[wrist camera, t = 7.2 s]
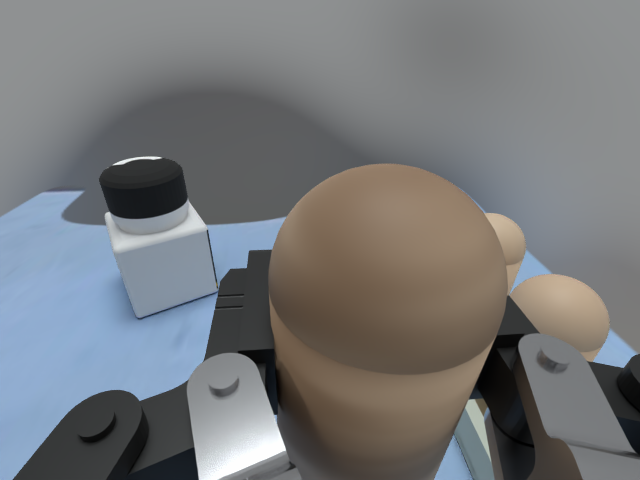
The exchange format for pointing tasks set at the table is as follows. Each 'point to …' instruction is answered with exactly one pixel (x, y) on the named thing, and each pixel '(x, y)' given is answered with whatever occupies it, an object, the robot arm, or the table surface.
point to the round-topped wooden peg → (381, 321)
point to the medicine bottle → (156, 235)
